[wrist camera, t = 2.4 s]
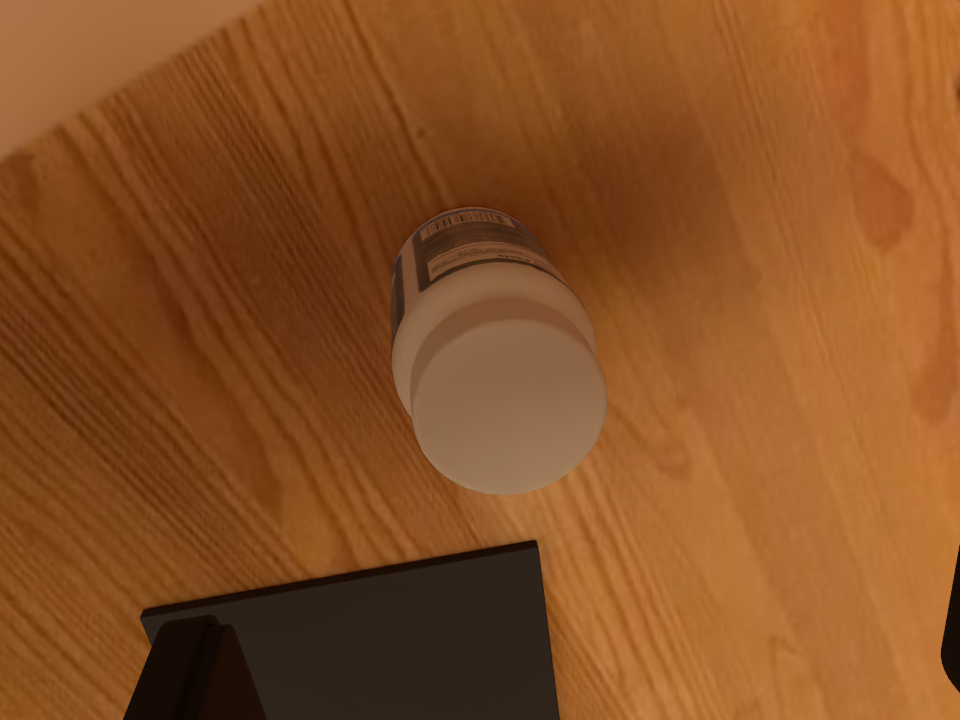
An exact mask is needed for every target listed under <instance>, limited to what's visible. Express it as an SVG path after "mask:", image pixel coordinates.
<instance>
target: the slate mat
mask: <svg viewBox="0 0 960 720" xmlns="http://www.w3.org/2000/svg"><path fill="white" fill-rule="evenodd" d="M209 614H211V615H214V616H215V617H216V618H217V619H218V621H219V623H220V625H223V624H231V625H232V626H233V627H234V629H235V632H236V634H237V637H238V640H239V643H240V645H241V648H242V651H243V654H244V656H245V659H246V662H247V665H248V668H249V670H250V673H251V676H252V679H253V681H254V684H255V687H256V690H257V692H258V695H259V698H260V701H261V703H262V706H263V709H264V712H265V715H266V717H267V720H560V719H559V711H558V703H557V695H556V687H555V679H554V671H553V662H552V654H551V646H550V638H549V630H548V622H547V614H546V606H545V598H544V590H543V582H542V574H541V566H540V558H539V550H538V545H537V542H536V541H533V542H527V543H521V544H516V545H510V546H504V547H499V548H493V549H488V550H482V551H476V552H471V553H465V554H459V555H454V556H448V557H442V558H437V559H431V560H426V561H420V562H414V563H409V564H403V565H397V566H392V567H386V568H380V569H375V570H369V571H364V572H358V573H352V574H347V575H341V576H335V577H330V578H324V579H318V580H313V581H307V582H302V583H296V584H290V585H285V586H279V587H273V588H268V589H262V590H256V591H251V592H245V593H240V594H234V595H228V596H223V597H217V598H211V599H206V600H200V601H194V602H189V603H183V604H178V605H172V606H166V607H161V608H155V609H149V610H144V611H143V612H142V614H141V617H140V620H141V622H142V625H143V627H144V629H145V632H146V634H147V636H148V638H149V641H150V643H151V645H153V643H154V640H155V638H156V635H157V633H158V631H159V629H160V627H161V625H162V624H164V623H165V622H167V621H173V620H179V619H185V618H191V617H197V616H203V615H209Z"/></svg>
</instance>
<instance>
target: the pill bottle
mask: <svg viewBox="0 0 960 720" xmlns="http://www.w3.org/2000/svg"><path fill="white" fill-rule="evenodd" d="M391 337H392V345H391V358H392V360H391V365H392V372H393V377H394V382H395V386H396V389H397V392H398V395H399V398H400V400H401V402H402V404H403V406H404V408H405V409H406V411H407V413H408V414H409V415H410V417H411V418H412V422H413V428H414V432H415V435H416V438H417V441H418V443H419V445H420V447H421V449H422V451H423V453H424V454H425V456H426V457H427V458H428V460H429V461H430V463H431V464H432V465H433V466H434V467H435V468H436V469H437V470H438V471H439V472H440V473H442V474H443V475H444V476H446V477H447V478H448V479H450V480H451V481H453V482H455V483H457V484H458V485H460V486H463V487H465V488H468V489H470V490H473V491H477V492H481V493H486V494H493V495H515V494H523V493H527V492H531V491H534V490H538V489H541V488H543V487H545V486H547V485H550V484H552V483H554V482H556V481H557V480H559V479H561V478H562V477H564V476H565V475H567V474H568V473H570V472H571V471H572V470H574V469H575V468H576V467H577V466H578V465H579V464H580V463H581V462H582V461H583V460H584V459H585V458H586V456H587V455H588V454H589V453H590V451H591V450H592V448H593V447H594V445H595V444H596V442H597V440H598V438H599V436H600V433H601V431H602V428H603V425H604V422H605V418H606V413H607V387H606V382H605V378H604V375H603V372H602V370H601V367H600V365H599V363H598V361H597V349H596V340H595V334H594V331H593V327H592V324H591V320H590V317H589V316H588V314H587V312H586V310H585V308H584V306H583V303H582V302H581V301H580V300H579V298H578V297H577V296H576V295H575V293H574V292H573V291H572V289H571V288H570V286H569V285H568V283H567V282H566V280H565V279H564V277H563V276H562V275H561V274H560V272H559V271H558V269H557V268H556V266H555V265H554V263H553V262H552V261H551V259H550V257H549V256H548V254H547V253H546V252H545V250H544V249H543V248H542V246H541V244H540V243H539V242H538V240H537V239H536V237H535V236H534V235H533V234H532V233H531V232H530V231H529V230H528V229H527V228H526V227H525V226H524V225H523V224H521V223H520V222H519V221H517V220H516V219H514V218H512V217H511V216H509V215H507V214H505V213H502V212H499V211H496V210H493V209H489V208H483V207H463V208H457V209H452V210H449V211H445V212H443V213H440V214H438V215H436V216H434V217H432V218H431V219H429V220H428V221H426V222H425V223H424V224H422V225H421V226H420V227H419V228H418V229H417V230H416V231H415V232H414V233H413V234H412V235H411V236H410V237H409V238H408V239H407V241H406V242H405V243H404V245H403V247H402V248H401V250H400V252H399V254H398V256H397V258H396V261H395V264H394V268H393V273H392V279H391Z"/></svg>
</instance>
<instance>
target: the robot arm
mask: <svg viewBox="0 0 960 720" xmlns="http://www.w3.org/2000/svg"><path fill="white" fill-rule="evenodd" d="M941 660H942V664H943V667H944V670H945V672H946V674H947V676H948V678H949V680H950V681H951V682H952V684H953V685H954V686H955V688H956V689H957V690H958V691H959V692H960V546H959V552H958V557H957V563H956V568H955V574H954V580H953V585H952V591H951V597H950V602H949V608H948V614H947V619H946V625H945V630H944V636H943V642H942V647H941ZM123 720H267V717H266V715H265V712H264V709H263V706H262V703H261V701H260V698H259V695H258V692H257V690H256V687H255V684H254V681H253V679H252V676H251V673H250V670H249V668H248V665H247V662H246V659H245V656H244V654H243V651H242V648H241V645H240V643H239V640H238V637H237V634H236V632H235V629H234V627H233V626H232V625H231V624H223V625H220V623H219V621H218V619H217V618H216V617H215V616H214V615H211V614H209V615H203V616H197V617H191V618H185V619H179V620H173V621H167V622H165V623H164V624H162V625H161V627H160V629H159V631H158V633H157V635H156V638H155V640H154V643H153V645H152V648H151V651H150V653H149V656H148V658H147V661H146V663H145V666H144V668H143V671H142V673H141V676H140V678H139V681H138V683H137V686H136V688H135V691H134V693H133V696H132V698H131V701H130V703H129V706H128V708H127V711H126V713H125V716H124V718H123Z"/></svg>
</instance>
